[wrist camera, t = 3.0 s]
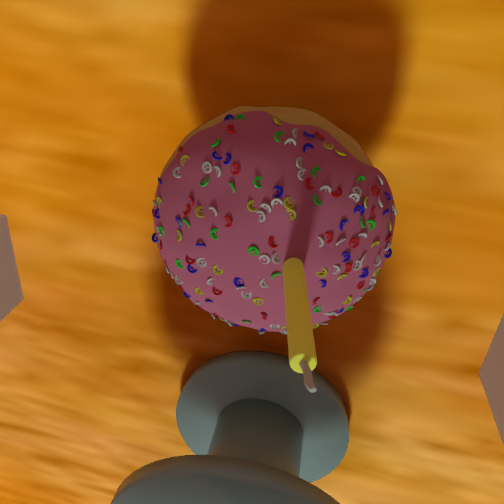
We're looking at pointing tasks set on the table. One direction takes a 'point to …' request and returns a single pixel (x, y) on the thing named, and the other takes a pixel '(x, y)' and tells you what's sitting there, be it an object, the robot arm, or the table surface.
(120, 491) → the cake stand
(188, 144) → the cupcake
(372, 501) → the table surface
